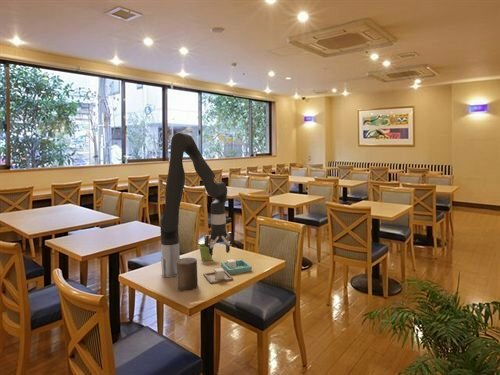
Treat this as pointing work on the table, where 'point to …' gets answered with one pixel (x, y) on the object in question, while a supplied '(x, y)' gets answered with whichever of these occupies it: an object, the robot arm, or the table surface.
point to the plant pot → (205, 252)
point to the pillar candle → (187, 274)
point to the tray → (211, 279)
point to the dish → (237, 267)
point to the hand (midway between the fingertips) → (219, 253)
